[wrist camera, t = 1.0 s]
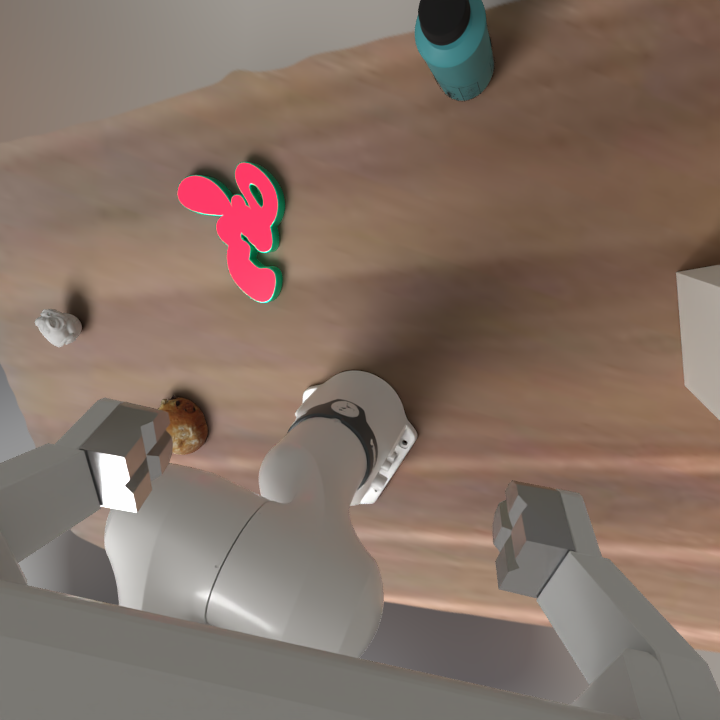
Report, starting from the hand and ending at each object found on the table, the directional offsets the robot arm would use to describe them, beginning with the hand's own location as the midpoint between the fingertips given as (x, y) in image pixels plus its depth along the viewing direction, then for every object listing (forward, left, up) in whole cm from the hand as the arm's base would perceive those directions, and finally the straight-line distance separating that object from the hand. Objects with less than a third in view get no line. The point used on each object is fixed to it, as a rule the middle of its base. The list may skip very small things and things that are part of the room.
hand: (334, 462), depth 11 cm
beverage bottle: (+20, +9, -54) cm, 58 cm away
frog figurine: (-32, +64, -54) cm, 90 cm away
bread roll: (-42, +39, -54) cm, 79 cm away
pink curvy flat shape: (-7, +34, -55) cm, 65 cm away
